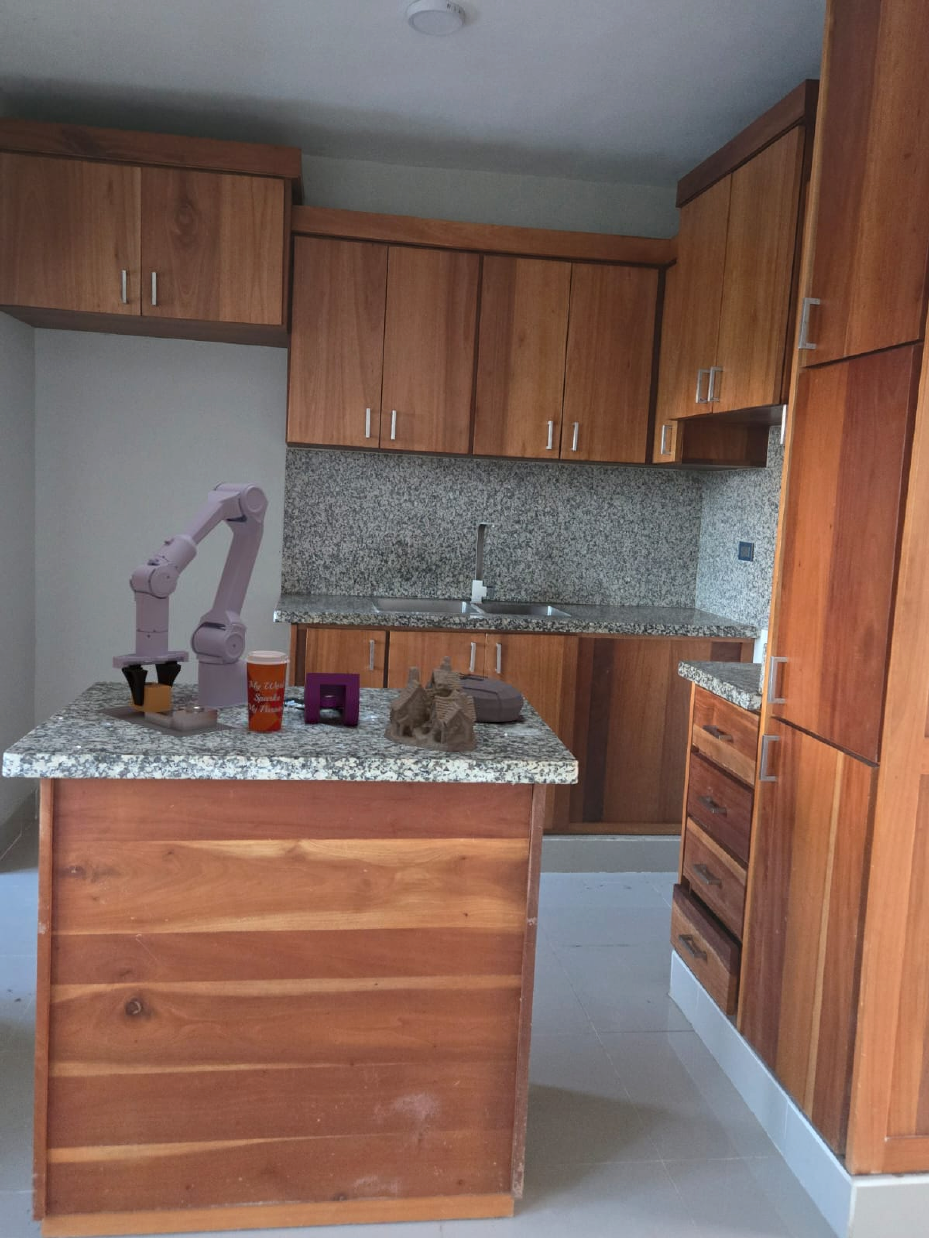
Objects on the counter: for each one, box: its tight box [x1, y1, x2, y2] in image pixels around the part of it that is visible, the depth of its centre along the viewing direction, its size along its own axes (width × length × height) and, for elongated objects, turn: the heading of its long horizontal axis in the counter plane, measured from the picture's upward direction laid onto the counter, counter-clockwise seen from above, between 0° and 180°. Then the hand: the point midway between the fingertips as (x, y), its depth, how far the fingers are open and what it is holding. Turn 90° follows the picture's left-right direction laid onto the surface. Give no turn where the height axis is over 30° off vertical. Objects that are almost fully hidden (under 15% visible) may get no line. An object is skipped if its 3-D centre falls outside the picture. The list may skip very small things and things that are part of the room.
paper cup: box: [244, 650, 291, 733], centre depth 177 cm, size 8×8×14 cm
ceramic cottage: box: [383, 655, 478, 752], centre depth 176 cm, size 16×16×15 cm
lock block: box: [130, 681, 172, 712], centre depth 184 cm, size 4×6×5 cm
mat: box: [94, 704, 236, 738], centre depth 181 cm, size 12×27×1 cm, turn 49°
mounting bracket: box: [303, 672, 361, 726], centre depth 191 cm, size 10×9×19 cm
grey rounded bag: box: [424, 672, 525, 723], centre depth 200 cm, size 15×8×20 cm
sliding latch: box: [145, 703, 218, 732], centre depth 178 cm, size 8×11×4 cm
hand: (150, 703), depth 184 cm, fingers closed on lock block, 4 cm apart
